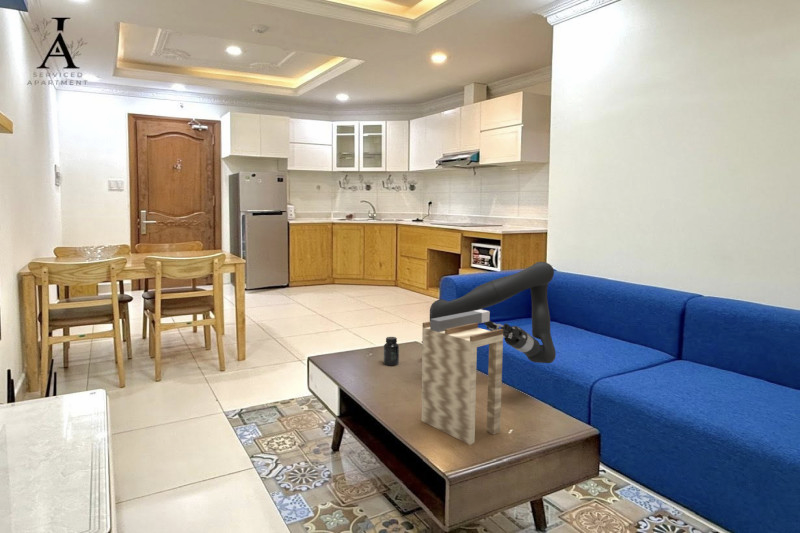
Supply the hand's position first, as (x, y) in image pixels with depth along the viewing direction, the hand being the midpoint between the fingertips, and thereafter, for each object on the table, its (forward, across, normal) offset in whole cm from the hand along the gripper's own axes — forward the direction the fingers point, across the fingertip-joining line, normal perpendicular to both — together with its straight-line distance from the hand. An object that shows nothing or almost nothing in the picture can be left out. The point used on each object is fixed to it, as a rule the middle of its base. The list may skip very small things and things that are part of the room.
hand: (494, 323), depth 185 cm
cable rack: (+4, +5, +37) cm, 38 cm away
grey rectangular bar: (+16, 0, +7) cm, 17 cm away
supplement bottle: (-15, -60, +26) cm, 67 cm away
